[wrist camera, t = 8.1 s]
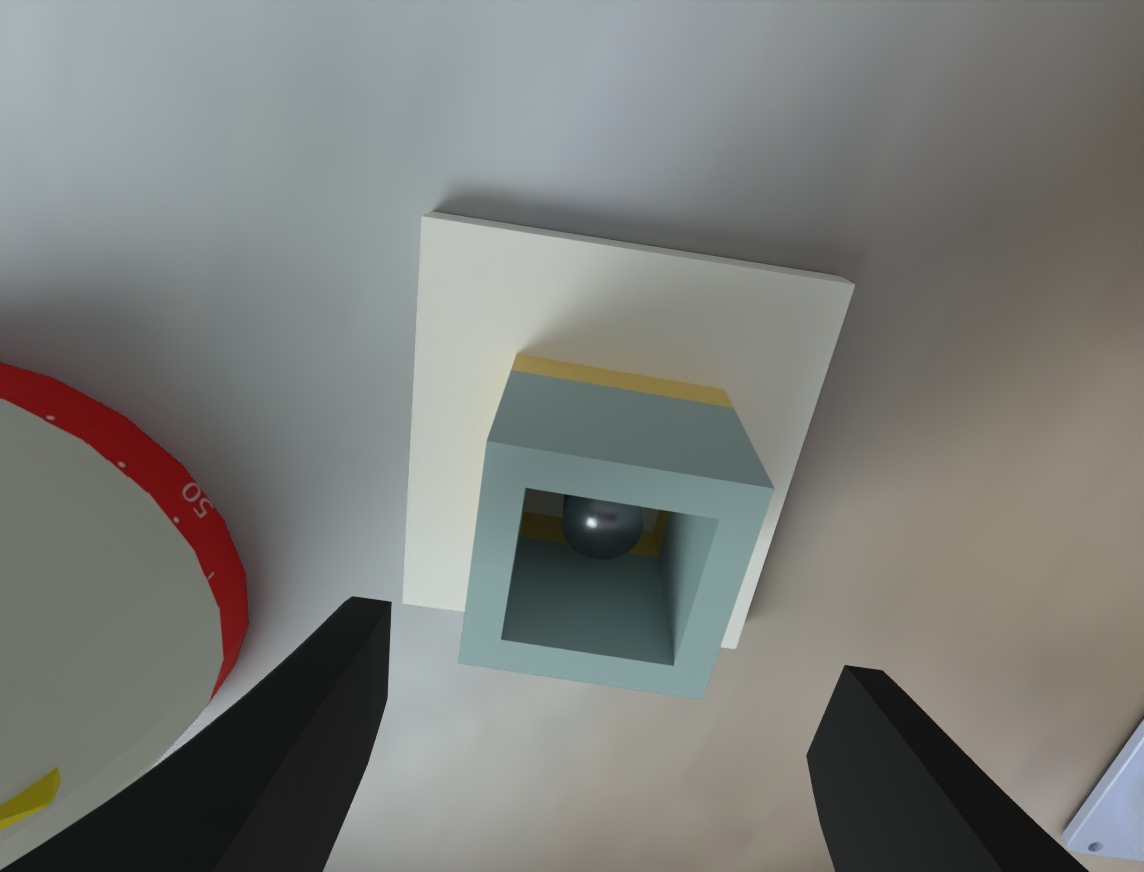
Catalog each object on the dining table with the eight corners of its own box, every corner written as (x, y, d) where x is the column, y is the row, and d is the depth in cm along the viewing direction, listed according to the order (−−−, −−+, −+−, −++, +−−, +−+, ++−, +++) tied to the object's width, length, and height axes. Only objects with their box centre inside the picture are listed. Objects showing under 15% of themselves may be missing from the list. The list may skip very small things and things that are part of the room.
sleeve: (675, 560, 19) (702, 700, 14) (491, 531, 18) (458, 663, 14) (724, 389, 16) (774, 489, 12) (516, 353, 16) (487, 441, 12)
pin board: (841, 276, 16) (912, 318, 12) (729, 626, 21) (758, 731, 17) (431, 211, 16) (383, 235, 12) (410, 582, 20) (371, 680, 17)
